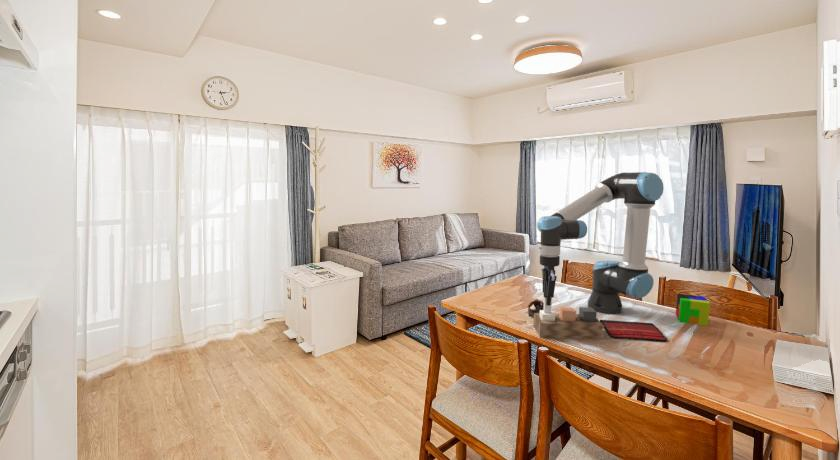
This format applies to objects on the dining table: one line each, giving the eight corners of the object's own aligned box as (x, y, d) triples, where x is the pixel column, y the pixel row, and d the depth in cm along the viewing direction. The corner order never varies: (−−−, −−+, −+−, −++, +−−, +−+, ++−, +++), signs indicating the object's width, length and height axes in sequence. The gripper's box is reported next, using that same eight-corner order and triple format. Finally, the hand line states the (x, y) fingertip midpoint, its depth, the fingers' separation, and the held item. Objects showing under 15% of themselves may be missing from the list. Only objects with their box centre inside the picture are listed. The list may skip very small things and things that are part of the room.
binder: (599, 318, 165) (652, 322, 162) (599, 324, 166) (652, 327, 162) (611, 335, 150) (669, 339, 146) (610, 341, 150) (669, 345, 147)
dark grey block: (591, 321, 157) (591, 307, 156) (595, 326, 152) (596, 311, 151) (578, 321, 157) (579, 307, 157) (582, 325, 153) (583, 311, 152)
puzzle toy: (702, 318, 171) (704, 296, 170) (707, 326, 162) (710, 303, 161) (675, 314, 175) (677, 293, 174) (679, 322, 166) (681, 300, 165)
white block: (551, 324, 158) (551, 310, 158) (554, 329, 154) (555, 314, 153) (539, 323, 159) (539, 310, 158) (541, 328, 154) (542, 314, 153)
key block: (591, 327, 161) (592, 314, 160) (602, 339, 150) (602, 324, 149) (533, 326, 162) (534, 313, 161) (539, 337, 151) (540, 323, 151)
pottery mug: (554, 320, 170) (547, 306, 168) (534, 328, 172) (527, 314, 170) (547, 305, 181) (541, 291, 179) (528, 312, 183) (522, 299, 181)
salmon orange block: (571, 321, 158) (571, 307, 157) (575, 325, 153) (576, 311, 152) (558, 320, 158) (559, 306, 157) (562, 325, 153) (563, 311, 152)
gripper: (536, 251, 159) (534, 306, 162) (544, 258, 146) (541, 317, 149) (554, 252, 158) (552, 306, 161) (564, 258, 145) (561, 318, 149)
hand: (547, 311), depth 155 cm, fingers closed
